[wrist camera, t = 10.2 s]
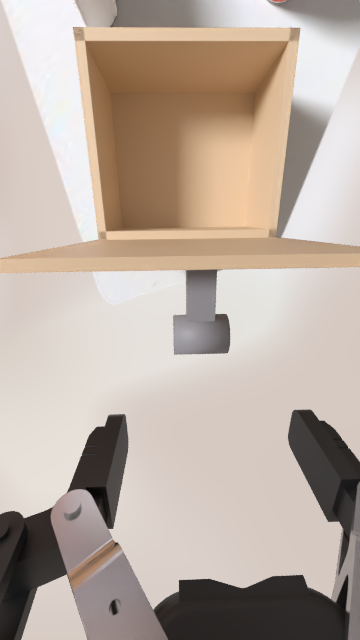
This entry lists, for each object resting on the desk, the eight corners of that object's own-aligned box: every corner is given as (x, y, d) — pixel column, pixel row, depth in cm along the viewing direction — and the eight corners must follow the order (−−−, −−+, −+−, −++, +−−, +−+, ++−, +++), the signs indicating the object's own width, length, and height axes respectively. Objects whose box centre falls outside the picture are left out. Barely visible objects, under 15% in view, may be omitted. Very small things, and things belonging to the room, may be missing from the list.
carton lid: (-5, 259, 11) (25, 382, 13) (413, 252, 12) (379, 373, 14) (96, 240, 26) (103, 299, 28) (277, 237, 27) (271, 296, 29)
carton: (104, 86, 30) (73, 27, 20) (260, 86, 30) (300, 27, 21) (117, 234, 36) (98, 239, 26) (249, 232, 36) (275, 237, 27)
